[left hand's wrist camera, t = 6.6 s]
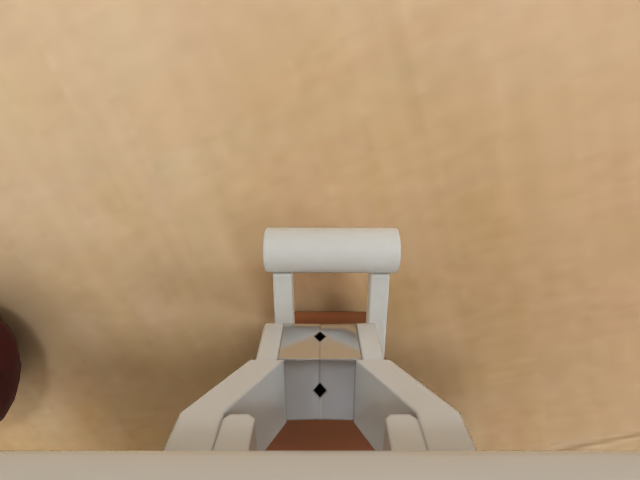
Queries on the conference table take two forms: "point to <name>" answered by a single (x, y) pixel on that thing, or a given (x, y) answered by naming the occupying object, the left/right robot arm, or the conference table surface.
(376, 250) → the drawer
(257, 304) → the conference table surface
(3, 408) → the dark red rounded ball
